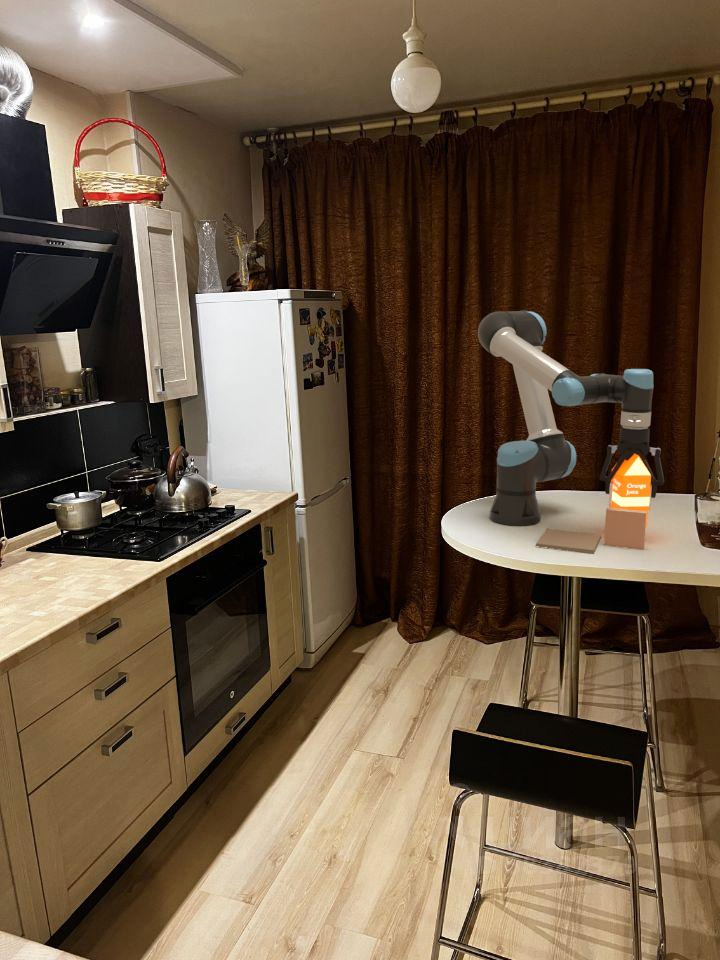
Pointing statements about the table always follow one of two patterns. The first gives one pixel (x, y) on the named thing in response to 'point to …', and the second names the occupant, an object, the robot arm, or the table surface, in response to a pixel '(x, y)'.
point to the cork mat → (569, 540)
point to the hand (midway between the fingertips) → (629, 507)
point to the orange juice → (631, 486)
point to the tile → (625, 528)
